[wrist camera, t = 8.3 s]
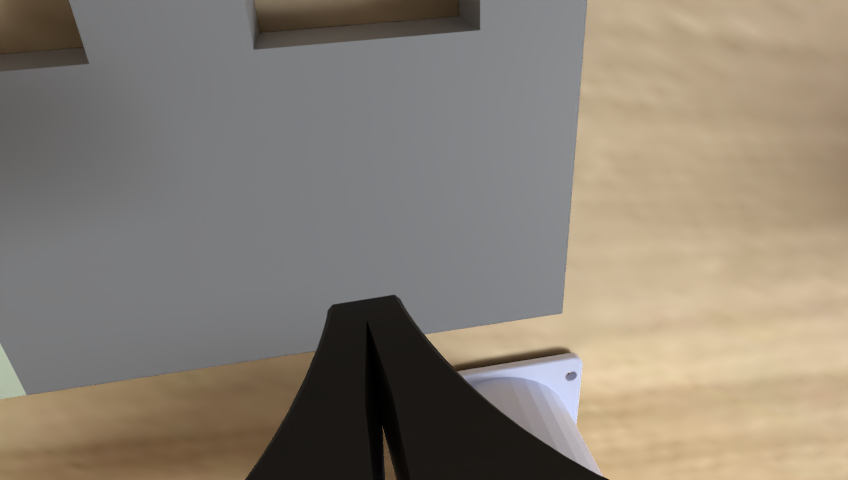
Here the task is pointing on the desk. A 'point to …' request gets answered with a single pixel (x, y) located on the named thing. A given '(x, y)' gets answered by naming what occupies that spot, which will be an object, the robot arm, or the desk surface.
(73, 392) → the desk surface
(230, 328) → the trap board
